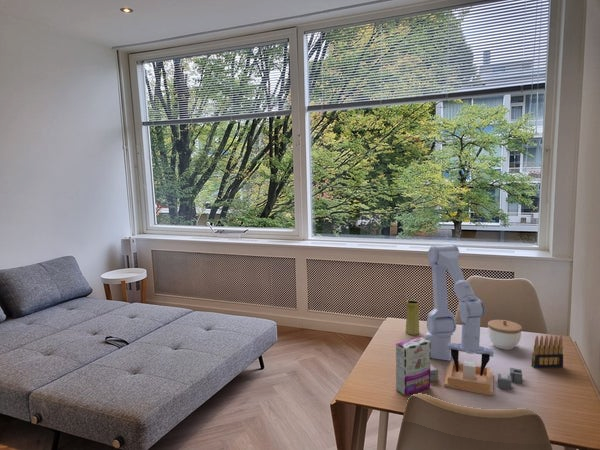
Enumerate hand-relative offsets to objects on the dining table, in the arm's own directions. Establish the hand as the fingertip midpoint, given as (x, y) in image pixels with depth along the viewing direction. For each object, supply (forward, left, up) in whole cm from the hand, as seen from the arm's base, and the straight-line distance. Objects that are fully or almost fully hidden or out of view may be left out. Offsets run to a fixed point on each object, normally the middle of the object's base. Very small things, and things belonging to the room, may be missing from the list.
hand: (469, 372), depth 144 cm
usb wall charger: (-14, -2, -3) cm, 14 cm away
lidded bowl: (+12, +36, -3) cm, 38 cm away
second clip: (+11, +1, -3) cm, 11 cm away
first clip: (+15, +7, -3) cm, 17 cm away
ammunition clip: (+26, +22, -3) cm, 34 cm away
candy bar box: (-17, -13, -3) cm, 22 cm away
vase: (-25, +37, -3) cm, 45 cm away
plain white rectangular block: (0, 0, -2) cm, 2 cm away
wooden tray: (0, 0, -3) cm, 3 cm away
